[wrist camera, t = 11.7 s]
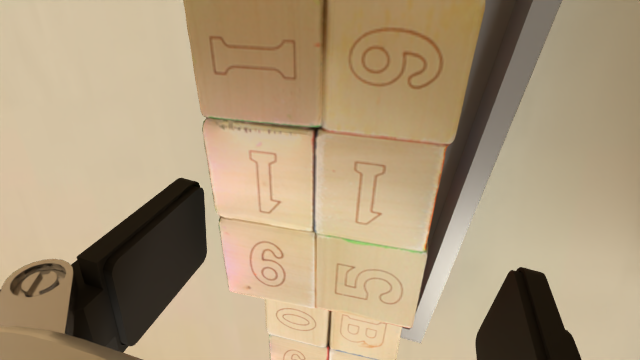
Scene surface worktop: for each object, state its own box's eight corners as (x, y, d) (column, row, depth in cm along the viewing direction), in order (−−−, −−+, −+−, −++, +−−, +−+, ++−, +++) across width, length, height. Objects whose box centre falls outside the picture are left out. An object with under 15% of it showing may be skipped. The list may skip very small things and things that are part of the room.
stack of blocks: (398, 273, 26) (379, 476, 16) (312, 256, 27) (242, 434, 17) (469, -108, 15) (564, -277, 5) (322, -107, 16) (144, -241, 6)
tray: (618, -217, 13) (673, -271, 10) (421, 303, 28) (420, 343, 25) (279, -235, 15) (244, -284, 12) (259, 260, 30) (241, 292, 27)
